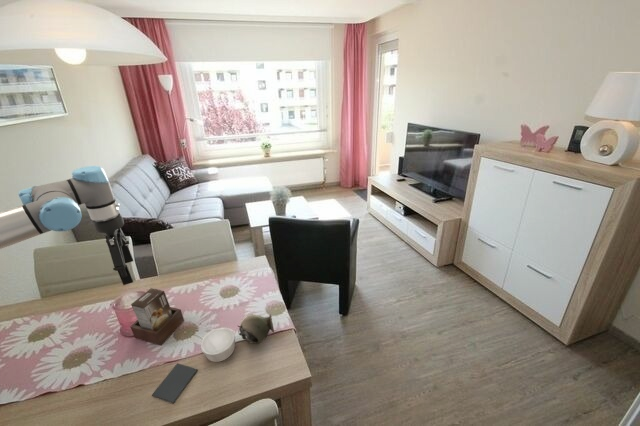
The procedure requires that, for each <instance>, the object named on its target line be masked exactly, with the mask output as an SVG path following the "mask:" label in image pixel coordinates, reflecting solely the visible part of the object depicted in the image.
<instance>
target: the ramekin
mask: <svg viewBox="0 0 640 426" xmlns="http://www.w3.org/2000/svg"><path fill="white" fill-rule="evenodd" d="M235 347H236V333H235V332H234V330H233V329H231V328H229V327H217V328H215V329H212V330H210V331H209V332H207V333H206V335H205V336H204V337H203V338H202V339H201V343H200V350H201V352H202V354H204V356H205V357H206V358H207V359H208V361H210V362H212V363H213V362H214V363H218V362H223V361H225V360H227V359H229V357H230V356H232V354H233V353H234V352H235V351H234V350H235V349H236V348H235Z"/></svg>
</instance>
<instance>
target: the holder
mask: <svg viewBox="0 0 640 426" xmlns="http://www.w3.org/2000/svg"><path fill="white" fill-rule="evenodd" d="M170 308H171V311H172V314H173V315H172V316H171V317H170V318H169V319H168V320H167V321H166V322H165V323H164V324H163V325H162V326H161V327H160V328H159V329H158V330H157V331H154V330H151V329H147V328H143V327H141V326H140V324H139V321H138V319H137V320H136V321H134V322H133V323H132V324H131V325H129V326H130V330H131V332H132V334H133V337H134V339H136V340H139V341H144V342H146V343H151V344H154V345H157V346H163V345H164V343H165V342H166V341H168V339H169V338H170V337H171V336H172V335H173V334H174V333H175V331H176V330H177V329H178V328H179V327H180V326H181V325H182V324H183V323H184V322H185V318H184V316H183V313H182V312H183V311H182V309H181V308H177V307H172V306H170Z"/></svg>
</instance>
